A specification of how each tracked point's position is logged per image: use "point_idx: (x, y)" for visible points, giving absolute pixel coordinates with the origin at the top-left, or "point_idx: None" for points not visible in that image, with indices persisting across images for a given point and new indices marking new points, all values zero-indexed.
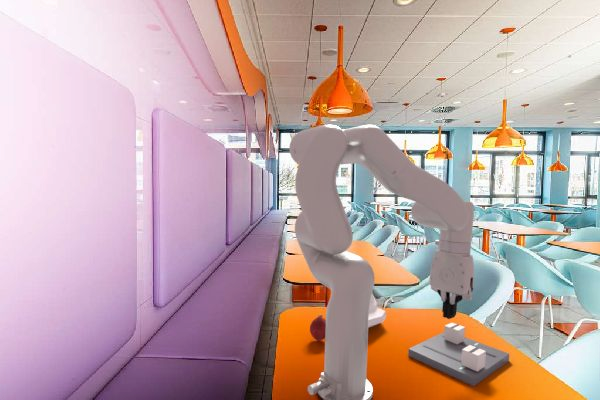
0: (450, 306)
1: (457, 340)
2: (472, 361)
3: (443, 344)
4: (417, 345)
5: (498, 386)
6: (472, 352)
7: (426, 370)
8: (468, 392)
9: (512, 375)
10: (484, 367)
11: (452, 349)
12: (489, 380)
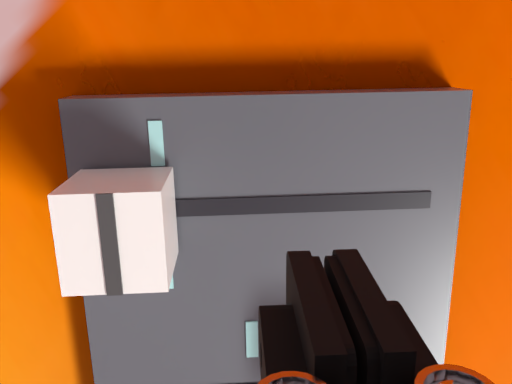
0: (306, 353)
1: None
2: (98, 180)
3: None
4: (456, 172)
5: (10, 198)
6: (94, 205)
7: (303, 30)
8: (54, 19)
9: (34, 342)
10: None
11: None
12: None
